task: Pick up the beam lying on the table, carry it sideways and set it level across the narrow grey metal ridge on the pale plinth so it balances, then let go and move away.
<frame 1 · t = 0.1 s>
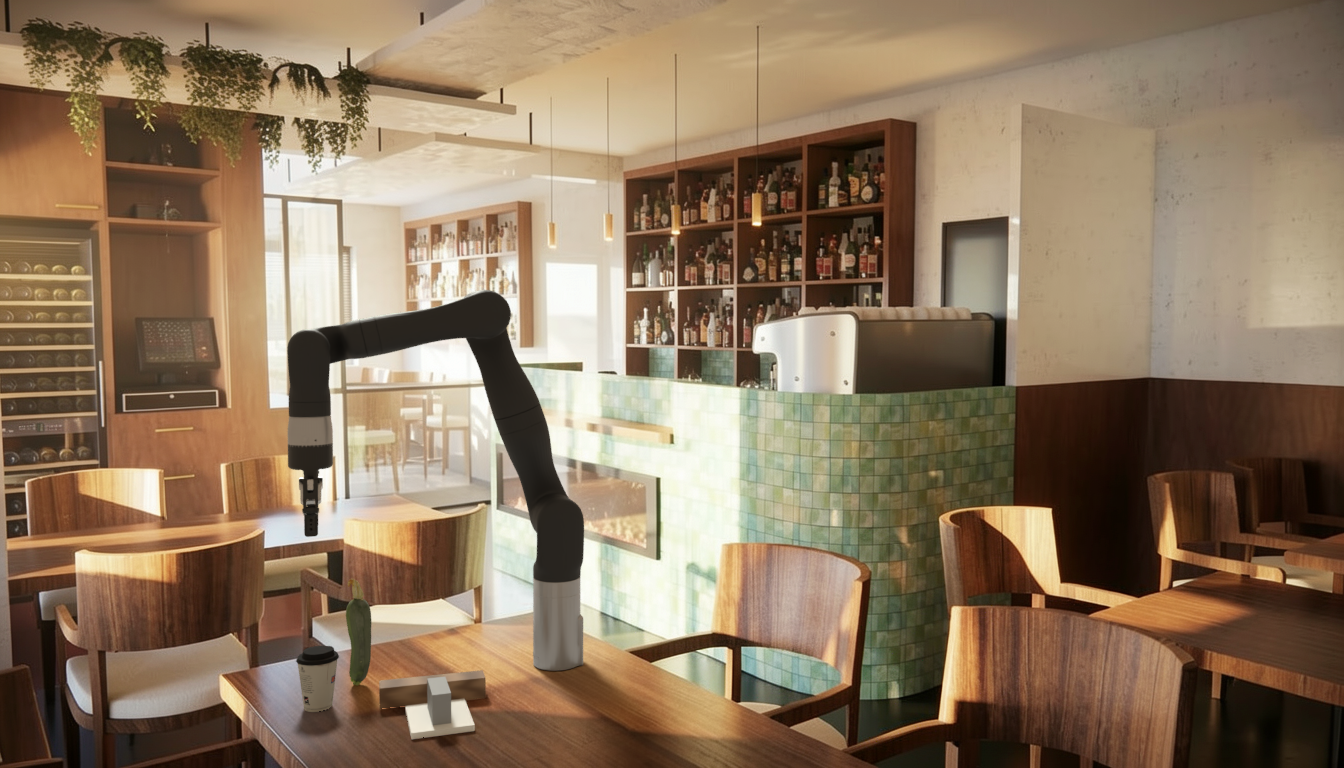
hand: (311, 531, 170), 29 cm above the table, tool pointing down, fingers open, 8 cm apart
beam: (432, 701, 168), on the table
coffee cup: (318, 708, 164), on the table
fulcrum: (439, 720, 158), on the table
vegetable: (359, 687, 174), on the table
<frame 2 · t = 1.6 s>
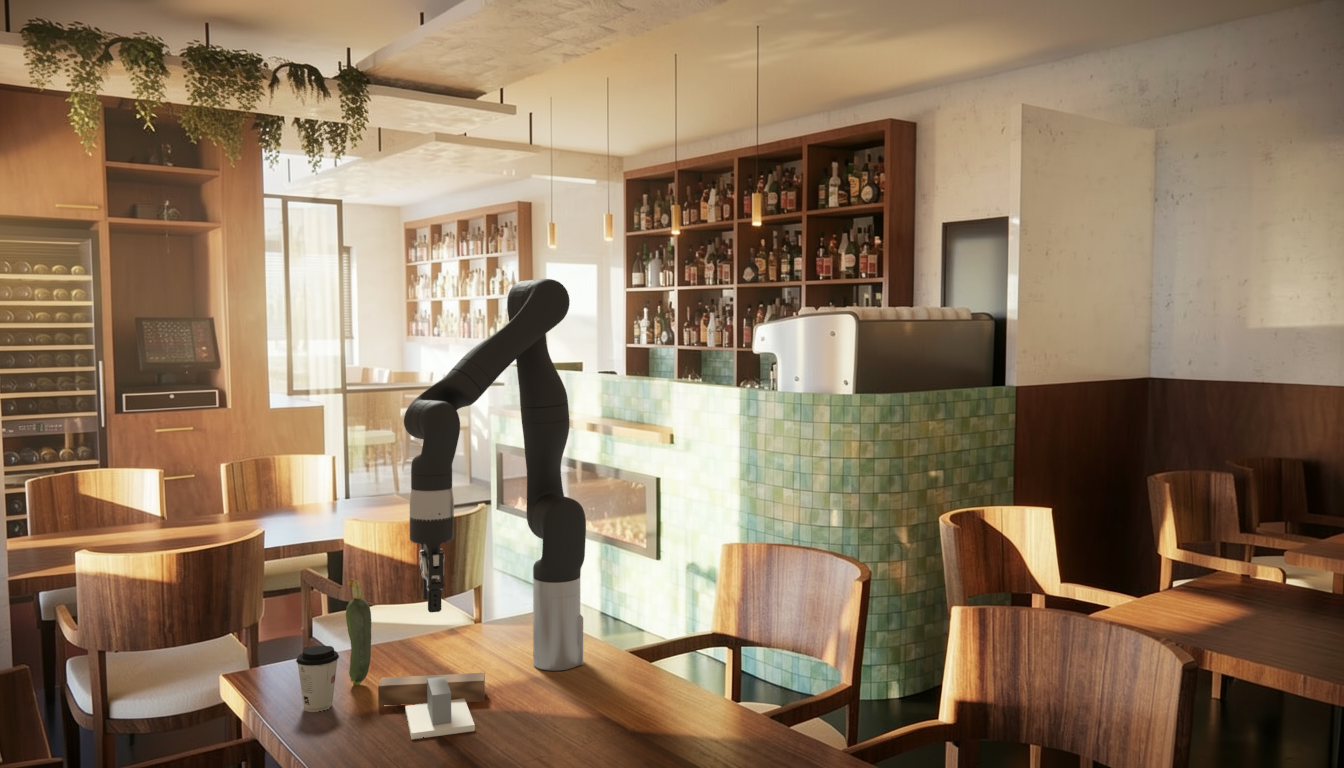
hand: (431, 605, 167), 17 cm above the table, tool pointing down, fingers open, 8 cm apart
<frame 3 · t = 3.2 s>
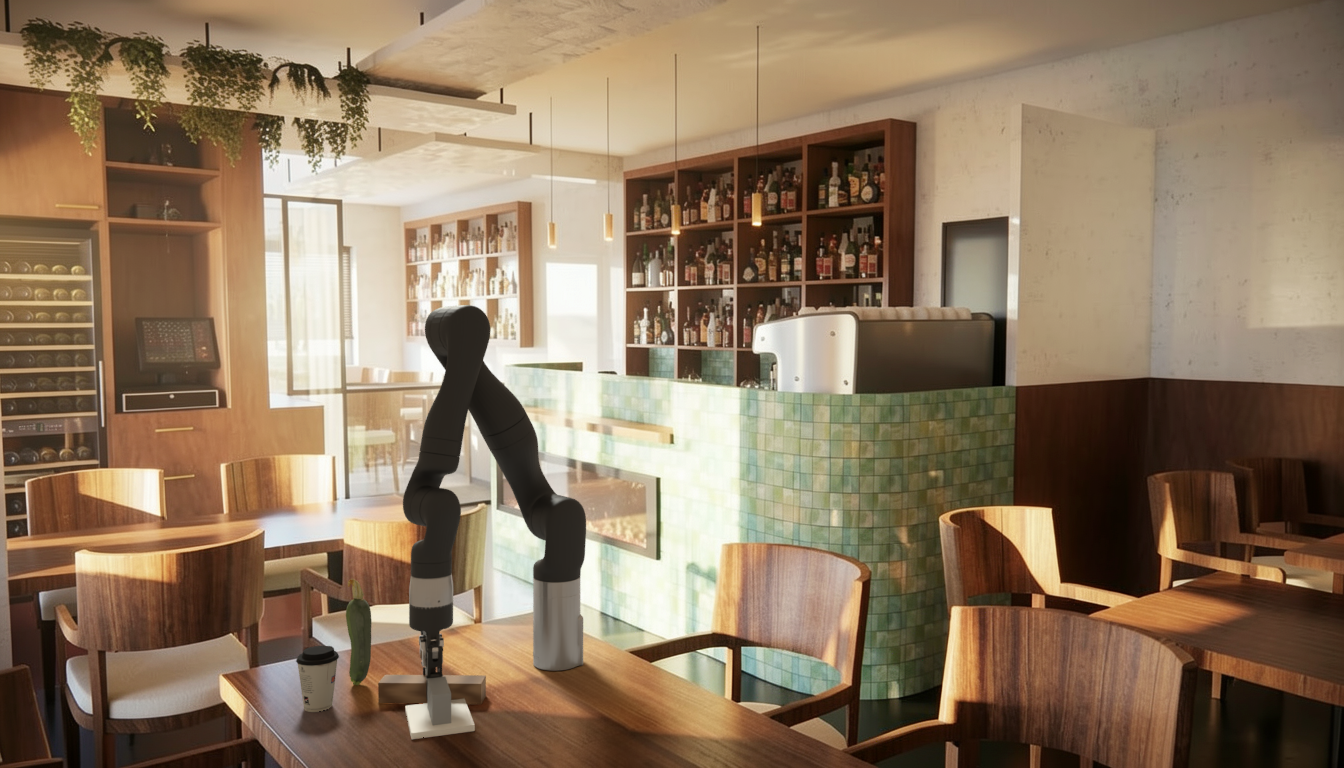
hand: (431, 693, 168), 1 cm above the table, tool pointing down, fingers open, 6 cm apart
beam: (432, 701, 168), on the table, touching fulcrum
everything else where it was.
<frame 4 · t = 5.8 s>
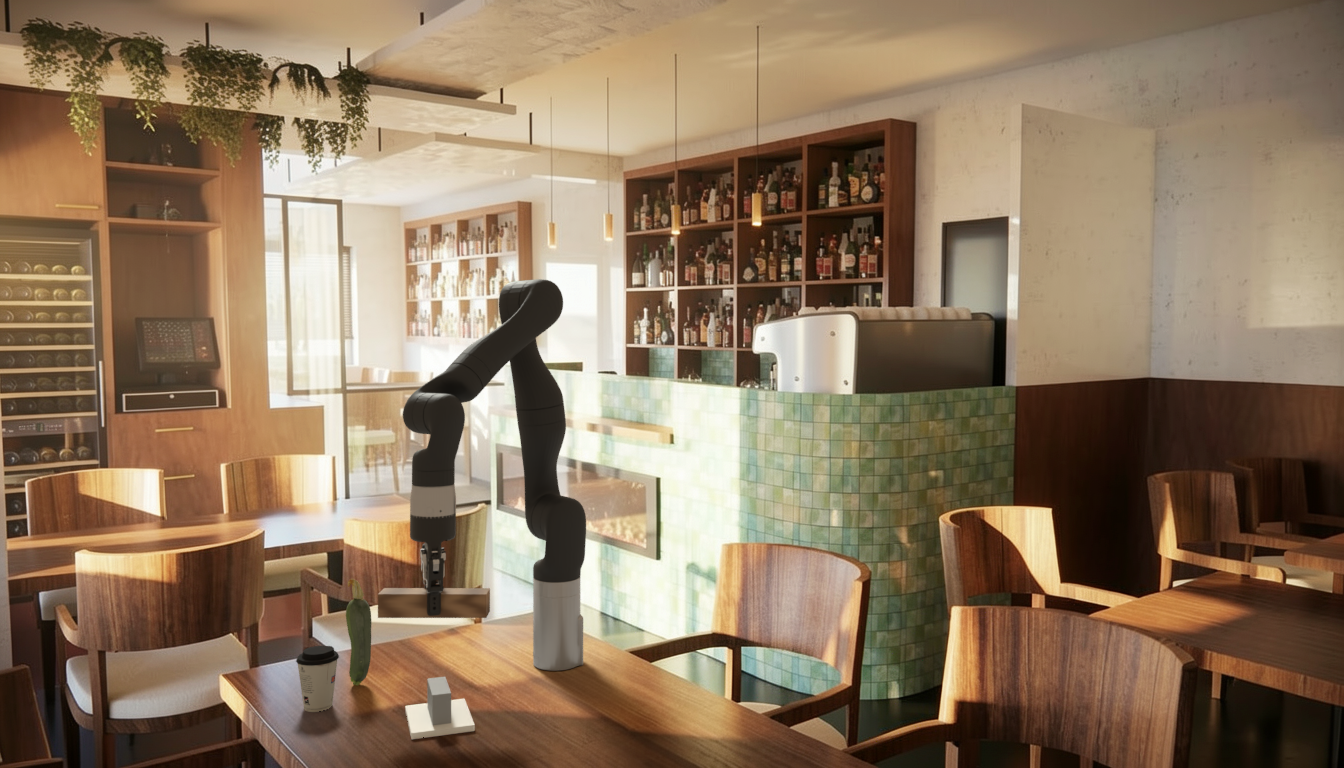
hand: (432, 610, 161), 18 cm above the table, tool pointing down, fingers closed on beam, 4 cm apart
beam: (434, 614, 161), point 17 cm above the table, touching gripper
everything else where it was.
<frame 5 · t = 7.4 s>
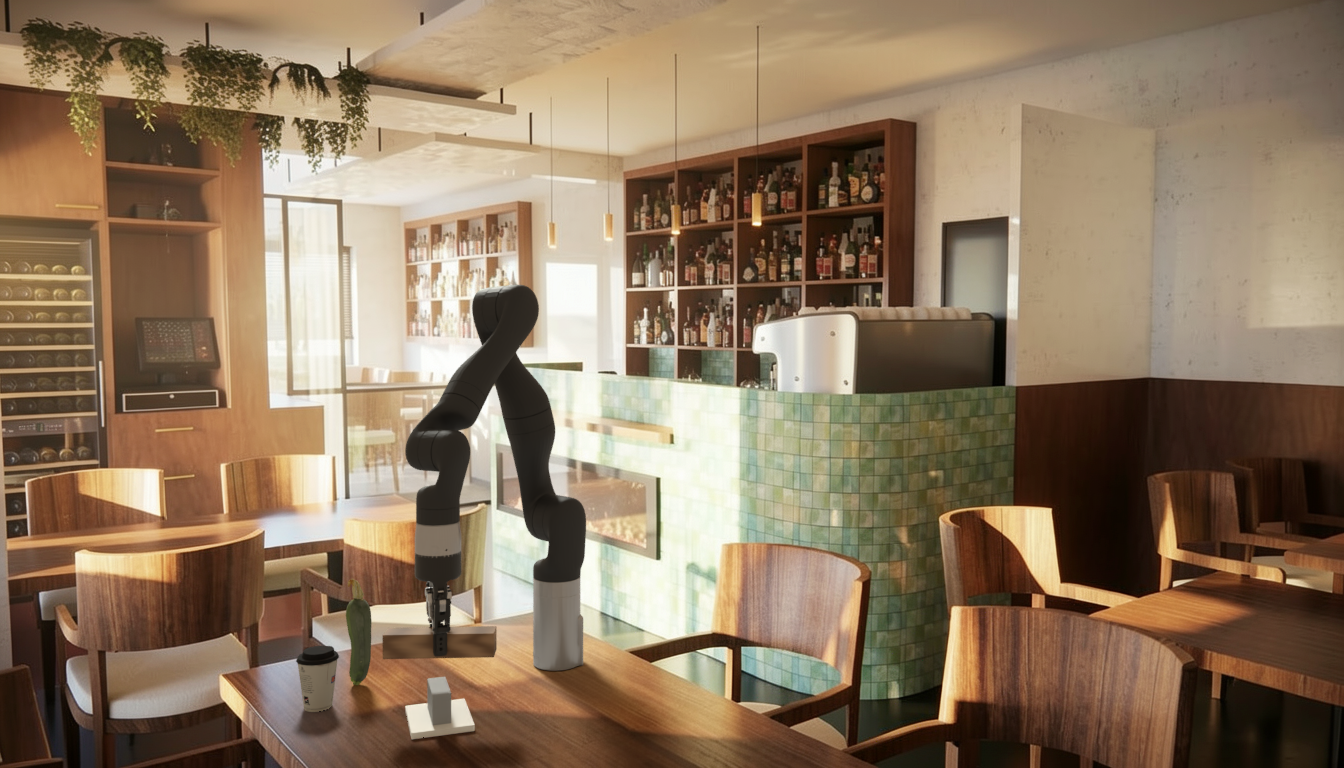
hand: (438, 649, 158), 12 cm above the table, tool pointing down, fingers closed on beam, 4 cm apart
beam: (440, 654, 158), point 11 cm above the table, touching gripper
everything else where it was.
when the fingers open (7 cm above the table, at t = 9.4 s): beam stays where it is, resting on fulcrum.
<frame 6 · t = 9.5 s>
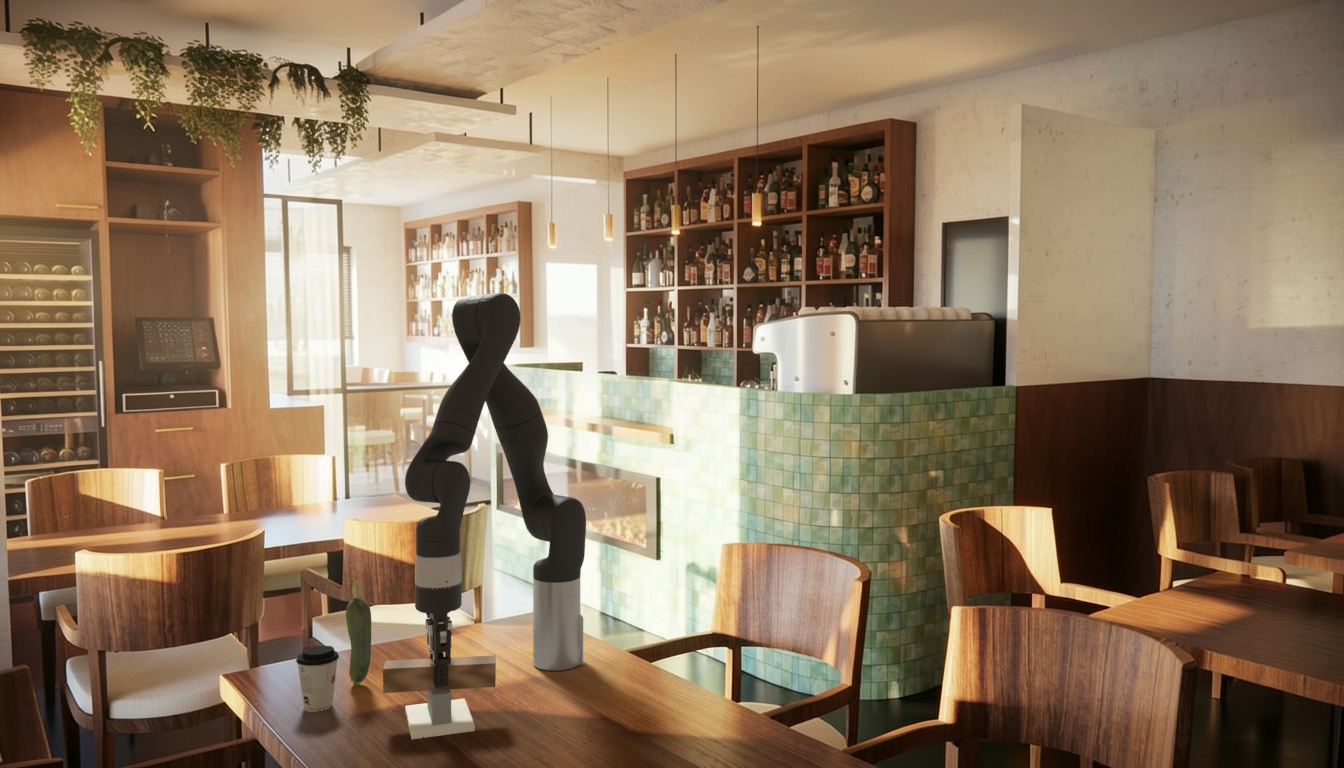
hand: (438, 680, 158), 7 cm above the table, tool pointing down, fingers open, 5 cm apart
beam: (440, 685, 158), point 6 cm above the table, touching fulcrum
everything else where it was.
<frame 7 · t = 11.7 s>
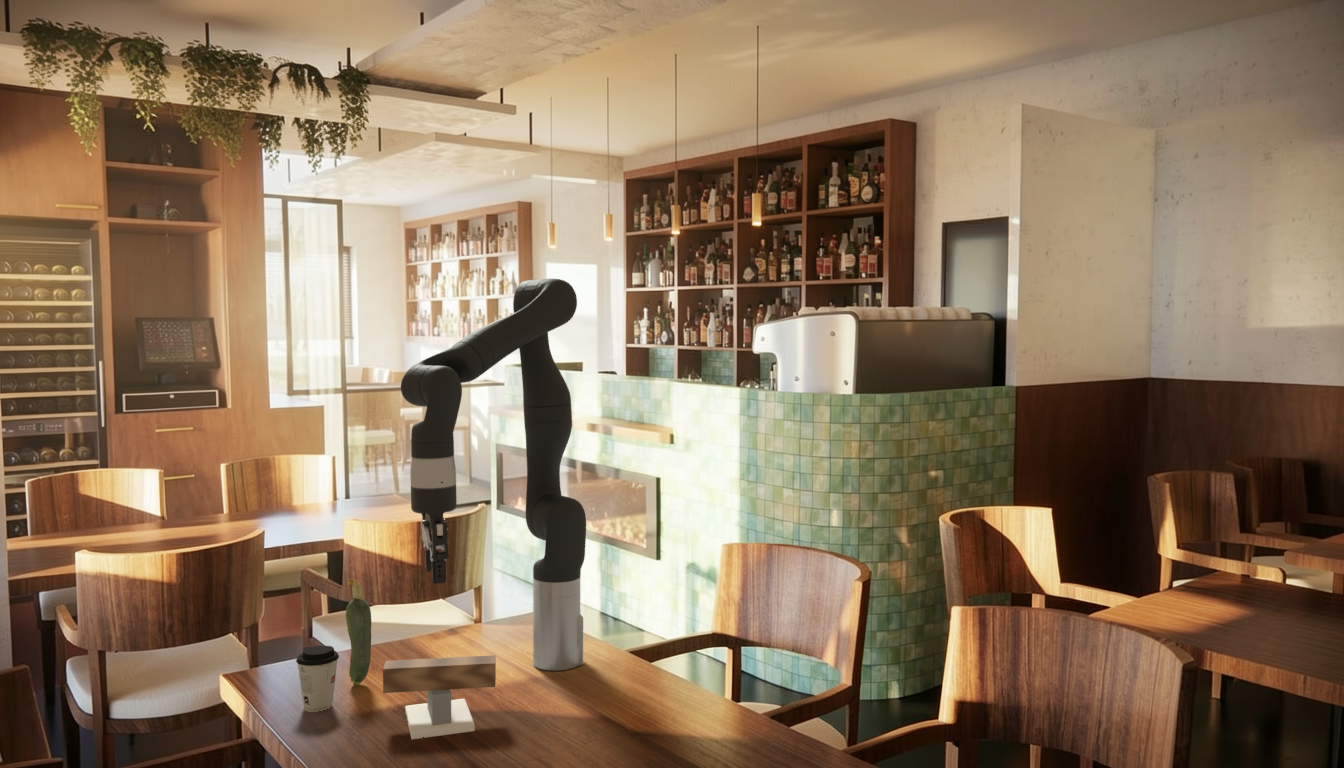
hand: (435, 576, 162), 23 cm above the table, tool pointing down, fingers open, 8 cm apart
nothing on the table moved.
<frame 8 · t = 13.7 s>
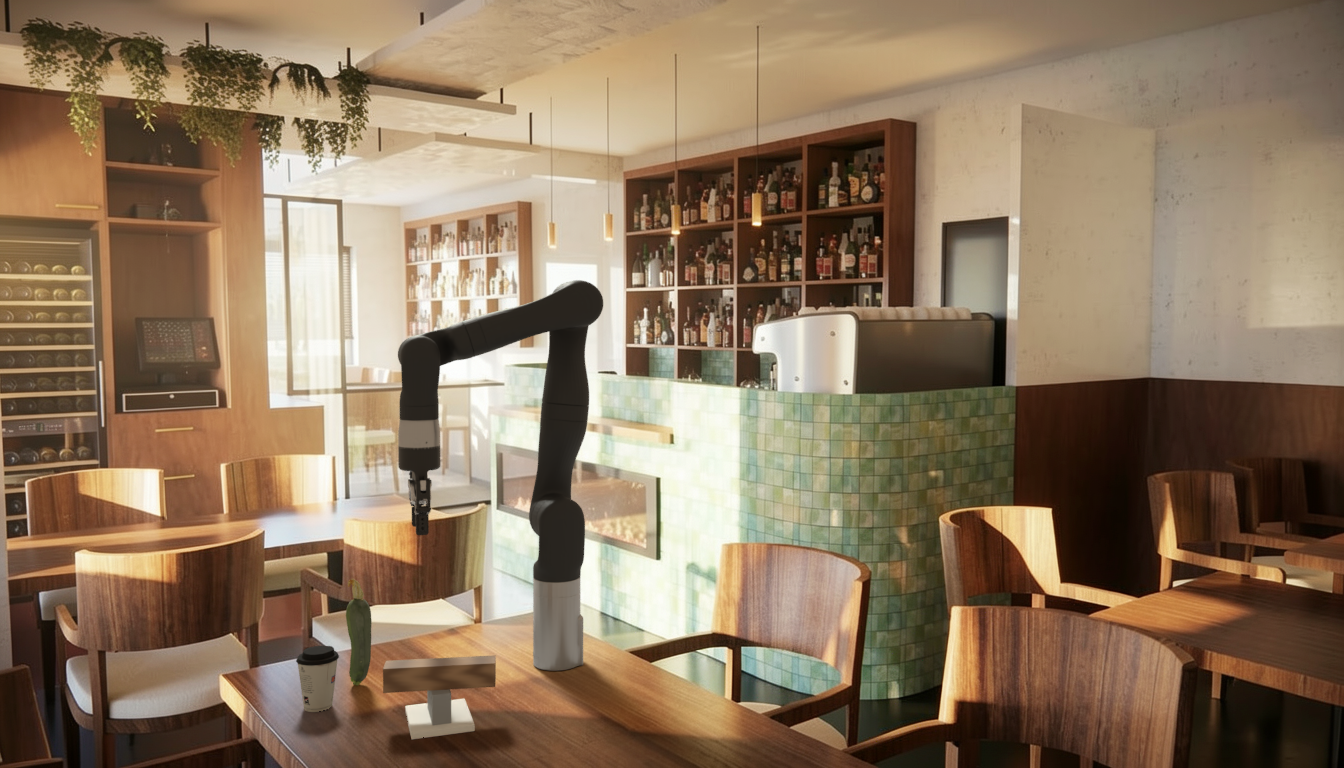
hand: (419, 530, 176), 28 cm above the table, tool pointing down, fingers open, 8 cm apart
nothing on the table moved.
at the end: beam inside the target area on the fulcrum (0.3 cm from its centre), point 6.0 cm above the fulcrum's base; beam touching fulcrum; beam tilted 0° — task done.
